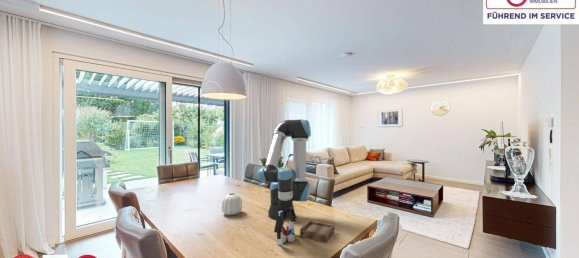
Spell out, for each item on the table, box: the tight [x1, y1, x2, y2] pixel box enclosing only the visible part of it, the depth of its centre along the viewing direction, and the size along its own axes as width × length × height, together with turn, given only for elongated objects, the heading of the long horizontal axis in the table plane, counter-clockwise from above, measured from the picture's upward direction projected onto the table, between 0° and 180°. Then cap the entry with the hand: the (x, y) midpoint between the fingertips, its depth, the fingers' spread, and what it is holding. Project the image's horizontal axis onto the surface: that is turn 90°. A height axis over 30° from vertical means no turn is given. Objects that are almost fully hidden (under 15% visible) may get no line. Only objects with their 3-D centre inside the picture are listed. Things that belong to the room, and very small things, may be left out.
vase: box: [221, 192, 243, 216], centre depth 163 cm, size 14×14×13 cm
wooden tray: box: [299, 220, 335, 243], centre depth 128 cm, size 15×13×4 cm
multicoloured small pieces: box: [281, 225, 296, 243], centre depth 123 cm, size 8×10×7 cm
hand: (286, 238), depth 124 cm, fingers open, 13 cm apart
